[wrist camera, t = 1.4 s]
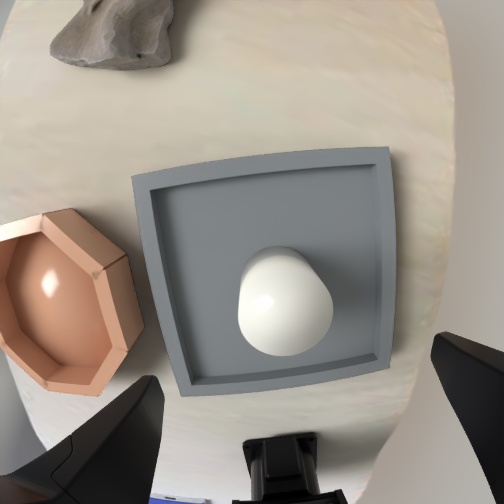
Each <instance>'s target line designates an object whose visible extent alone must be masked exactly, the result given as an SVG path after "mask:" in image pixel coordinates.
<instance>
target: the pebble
mask: <svg viewBox="0 0 504 504" xmlns="http://www.w3.org/2000/svg"><path fill="white" fill-rule="evenodd" d="M332 318H333V302H332V298H331V296H330V293H329V291H328V290H327V288H326V287H325V285H324V284H323V282H322V281H321V280H320V278H319V277H318V276H317V274H316V273H315V271H314V270H313V269H312V267H311V266H310V265H309V263H308V262H307V261H306V259H305V258H304V257H303V256H302V255H301V254H300V253H298V252H297V251H295V250H293V249H291V248H288V247H283V246H272V247H267V248H264V249H262V250H260V251H258V252H256V253H255V254H254V255H253V256H251V257H250V259H249V260H248V261H247V262H246V264H245V266H244V268H243V270H242V274H241V281H240V294H239V308H238V322H239V326H240V329H241V332H242V334H243V335H244V337H245V338H246V340H247V341H248V342H249V343H250V344H251V345H252V346H253V347H255V348H256V349H258V350H259V351H261V352H264V353H266V354H270V355H274V356H292V355H296V354H299V353H302V352H305V351H307V350H309V349H310V348H312V347H313V346H315V345H316V344H317V343H318V342H319V341H320V340H321V339H322V338H323V337H324V336H325V334H326V333H327V331H328V329H329V327H330V325H331V322H332Z"/></svg>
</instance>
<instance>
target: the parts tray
mask: <svg viewBox="0 0 504 504" xmlns="http://www.w3.org/2000/svg"><path fill="white" fill-rule="evenodd" d="M131 177H132V185H133V192H134V199H135V206H136V212H137V218H138V224H139V230H140V236H141V241H142V247H143V252H144V257H145V262H146V267H147V272H148V276H149V281H150V285H151V290H152V294H153V299H154V303H155V307H156V311H157V315H158V319H159V323H160V327H161V331H162V334H163V338H164V342H165V345H166V349H167V352H168V356H169V359H170V363H171V366H172V369H173V373H174V376H175V379H176V382H177V385H178V388H179V392H180V395H181V397H188V396H212V395H228V394H240V393H251V392H261V391H270V390H278V389H285V388H292V387H299V386H306V385H312V384H318V383H323V382H329V381H334V380H339V379H344V378H349V377H354V376H358V375H363V374H367V373H372V372H376V371H380V370H384V369H388V368H390V361H391V351H392V341H393V330H394V315H395V296H396V225H395V205H394V191H393V179H392V169H391V160H390V151H389V147H356V148H335V149H319V150H306V151H294V152H283V153H273V154H264V155H255V156H247V157H239V158H231V159H224V160H217V161H211V162H204V163H198V164H192V165H186V166H180V167H175V168H169V169H164V170H159V171H154V172H149V173H144V174H139V175H134V176H131ZM272 246H283V247H288V248H291V249H293V250H295V251H297V252H298V253H300V254H301V255H302V256H303V257H304V258H305V259H306V261H307V262H308V263H309V265H310V266H311V267H312V269H313V270H314V271H315V273H316V274H317V276H318V277H319V278H320V280H321V281H322V282H323V284H324V285H325V287H326V288H327V290H328V291H329V293H330V296H331V298H332V302H333V318H332V322H331V325H330V327H329V329H328V331H327V333H326V334H325V336H324V337H323V338H322V339H321V340H320V341H319V342H318V343H317V344H316V345H315V346H313V347H312V348H310V349H309V350H307V351H305V352H302V353H299V354H296V355H292V356H274V355H270V354H266V353H264V352H261V351H259V350H258V349H256V348H255V347H253V346H252V345H251V344H250V343H249V342H248V341H247V340H246V338H245V337H244V335H243V334H242V332H241V329H240V326H239V322H238V308H239V294H240V281H241V274H242V270H243V268H244V266H245V264H246V262H247V261H248V260H249V259H250V257H251V256H253V255H254V254H255V253H256V252H258V251H260V250H262V249H264V248H267V247H272Z"/></svg>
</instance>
